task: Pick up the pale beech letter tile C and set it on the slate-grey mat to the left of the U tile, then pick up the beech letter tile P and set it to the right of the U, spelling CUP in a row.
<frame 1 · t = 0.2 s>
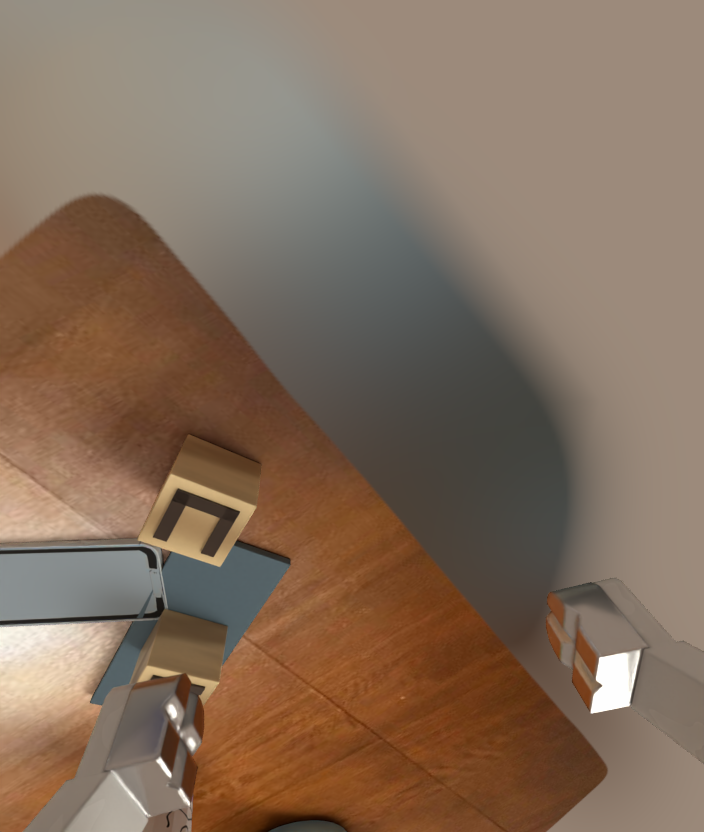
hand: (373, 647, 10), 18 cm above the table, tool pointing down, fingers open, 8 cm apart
tile C: (210, 478, 28), on the table
mat: (186, 631, 34), on the table
tile U: (184, 638, 34), point 1 cm above the table, touching mat
smartphone: (58, 576, 31), on the table
cup: (170, 770, 42), on the table
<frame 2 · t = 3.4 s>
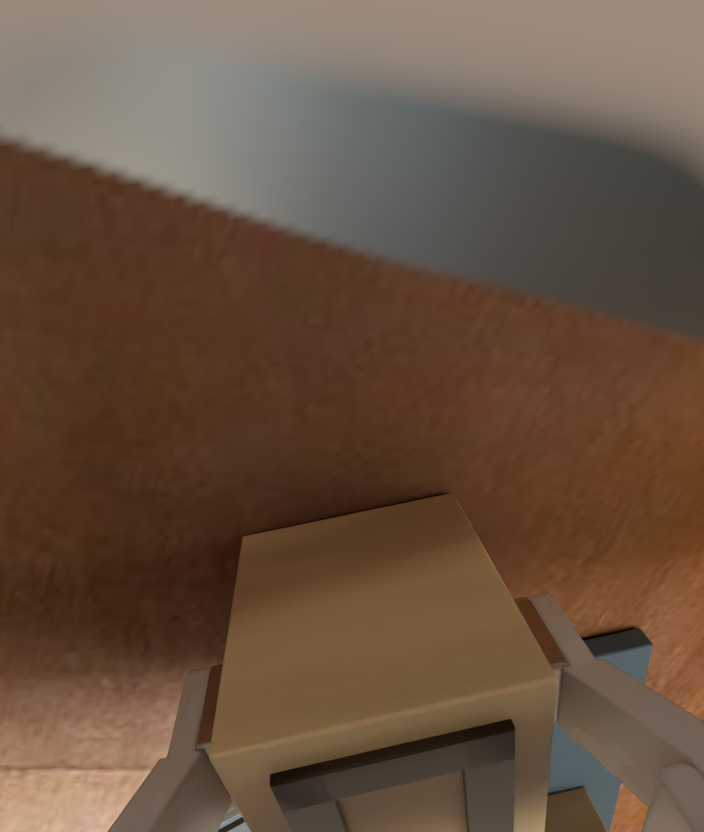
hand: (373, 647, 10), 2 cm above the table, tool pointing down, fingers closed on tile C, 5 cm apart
tile C: (364, 589, 11), on the table, touching gripper
mat: (511, 812, 17), on the table
tile U: (518, 831, 17), point 1 cm above the table, touching mat
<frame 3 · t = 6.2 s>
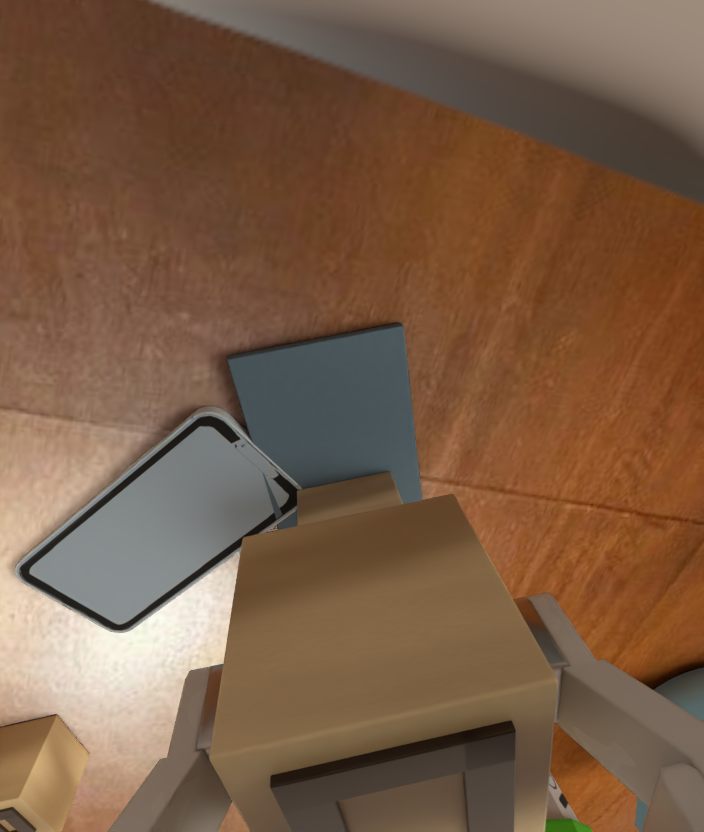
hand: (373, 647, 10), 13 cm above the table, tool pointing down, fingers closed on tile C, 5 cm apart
tile C: (364, 590, 11), point 11 cm above the table, touching gripper
mat: (350, 510, 24), on the table
tile P: (37, 743, 29), on the table
teapot: (688, 703, 39), on the table
tile U: (351, 517, 24), point 1 cm above the table, touching mat
smartphone: (164, 522, 24), on the table
cup: (466, 686, 33), on the table
when the fingers open (2 cm above the table, at t = 9.1 s): tile C stays where it is, resting on mat.
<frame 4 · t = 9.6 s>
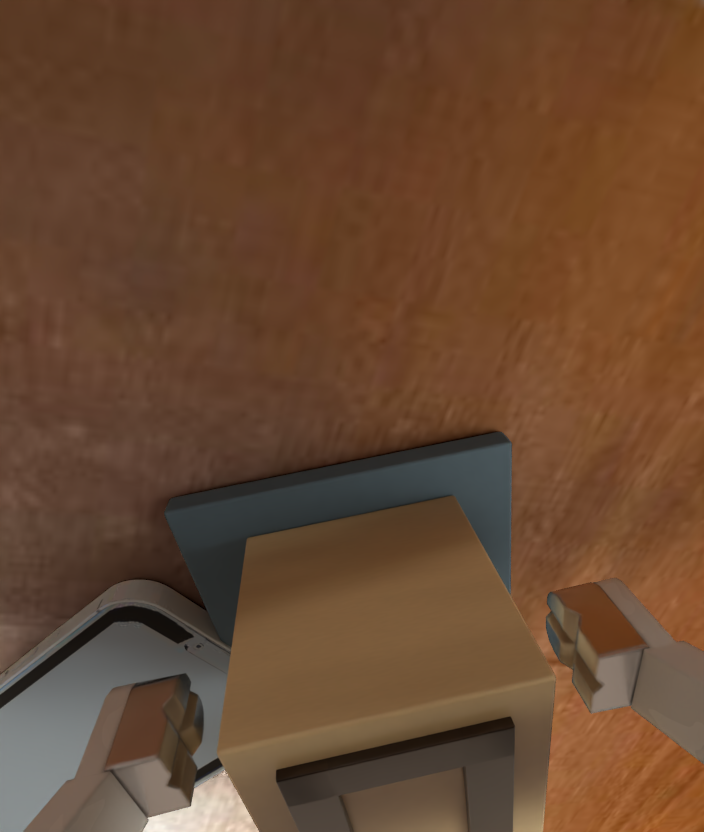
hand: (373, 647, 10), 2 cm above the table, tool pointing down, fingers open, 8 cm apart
tile C: (366, 589, 11), point 1 cm above the table, touching mat
mat: (388, 709, 15), on the table
smartphone: (79, 735, 14), on the table
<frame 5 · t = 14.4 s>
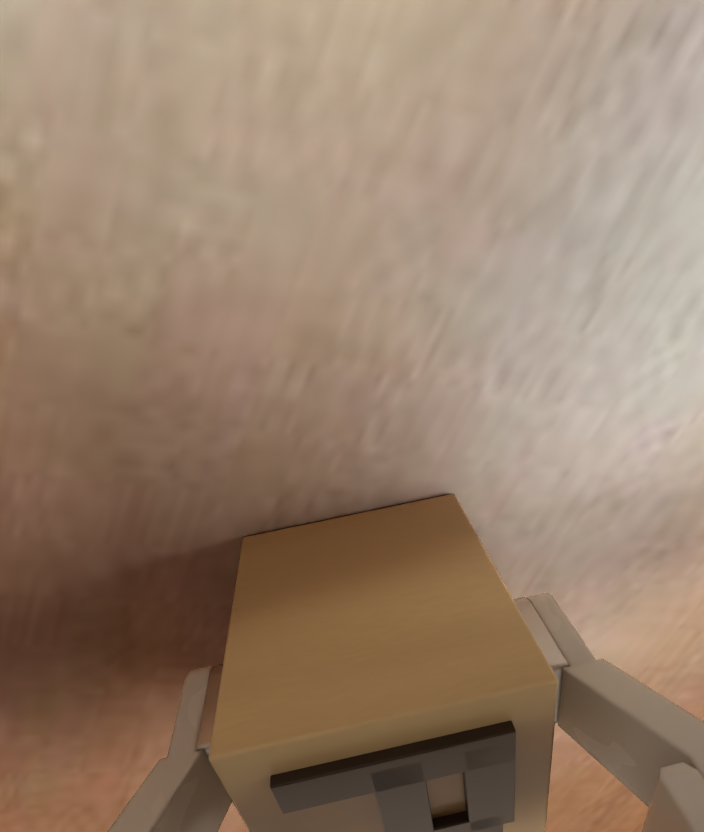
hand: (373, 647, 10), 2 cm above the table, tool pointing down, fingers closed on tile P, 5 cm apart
tile P: (364, 590, 11), on the table, touching gripper
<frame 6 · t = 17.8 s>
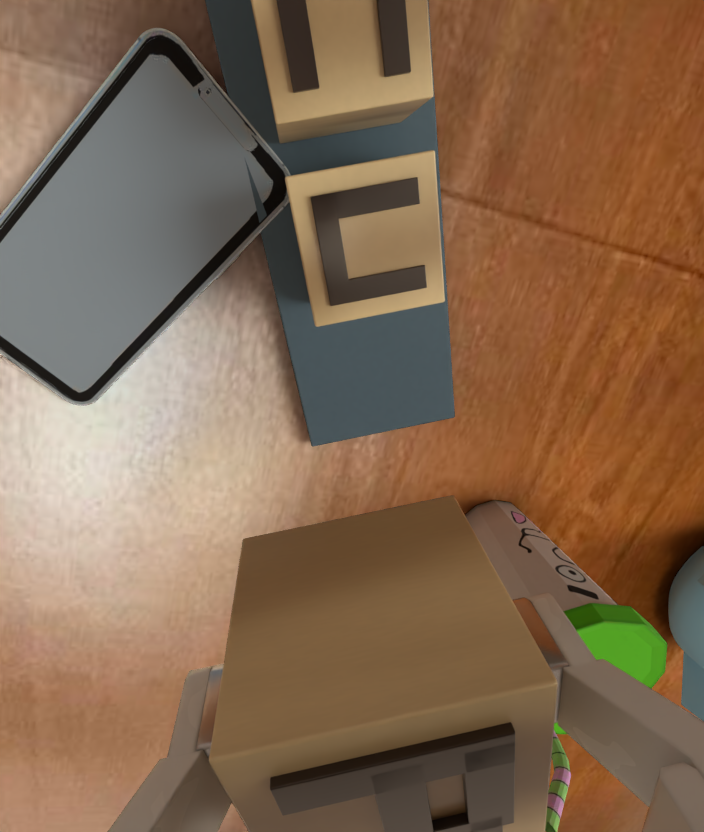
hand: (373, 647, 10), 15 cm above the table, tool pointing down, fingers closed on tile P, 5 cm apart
tile C: (329, 55, 16), point 1 cm above the table, touching mat
mat: (353, 236, 20), on the table
tile P: (364, 591, 11), point 13 cm above the table, touching gripper
tile U: (354, 236, 19), point 1 cm above the table, touching mat
smartphone: (123, 244, 19), on the table
cup: (488, 526, 29), on the table
when the fingers open (2 cm above the table, at t = 21.3 s): tile P stays where it is, resting on mat.
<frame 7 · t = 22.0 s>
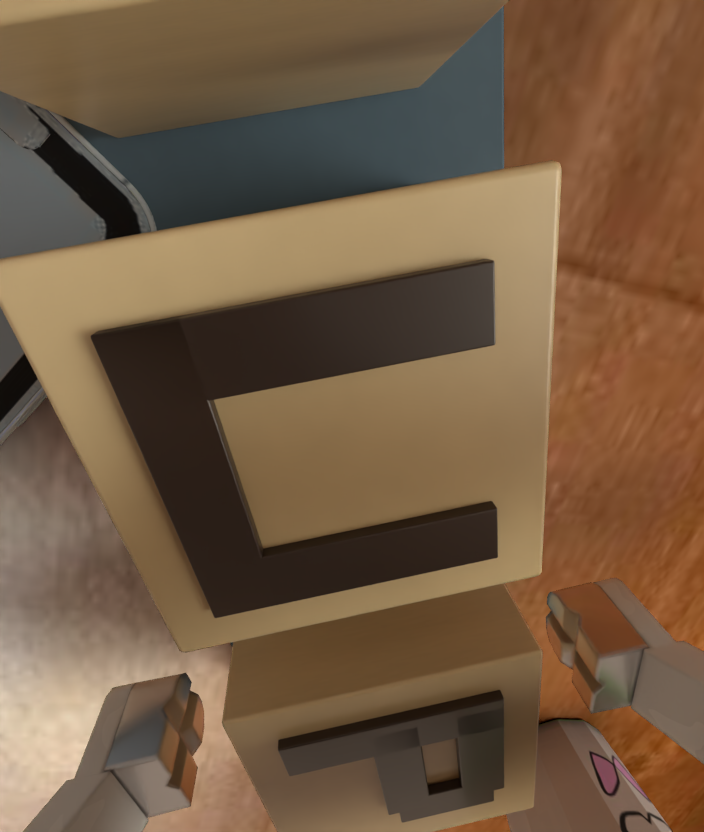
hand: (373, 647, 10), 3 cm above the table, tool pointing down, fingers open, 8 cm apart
mat: (312, 336, 9), on the table
tile P: (364, 578, 12), point 1 cm above the table, touching mat
tile U: (313, 344, 9), point 1 cm above the table, touching mat
cup: (543, 746, 18), on the table
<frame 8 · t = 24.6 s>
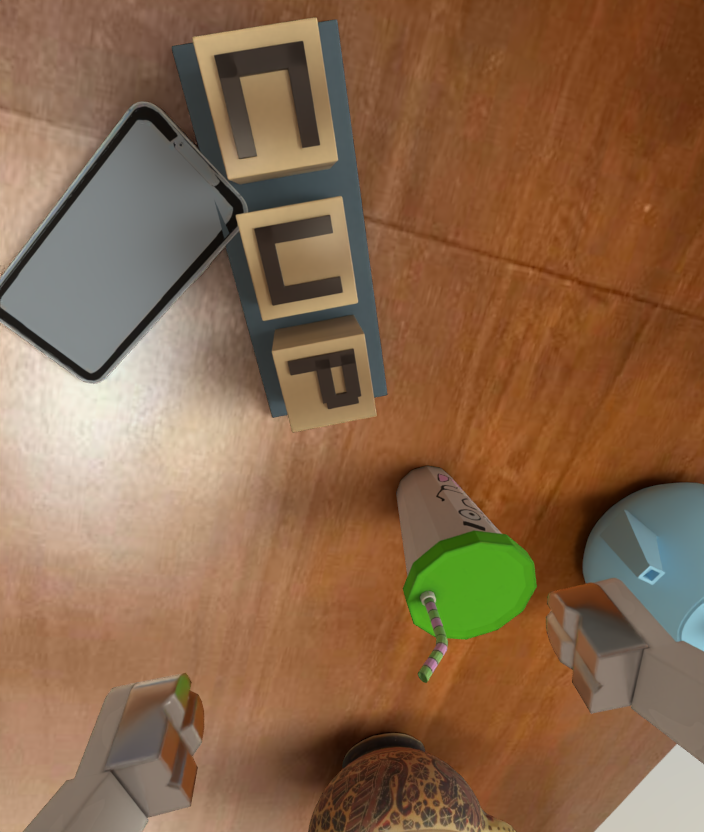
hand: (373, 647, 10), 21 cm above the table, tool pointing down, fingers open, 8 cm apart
tile C: (274, 121, 22), point 1 cm above the table, touching mat
mat: (299, 251, 26), on the table
tile P: (321, 359, 28), point 1 cm above the table, touching mat
teapot: (645, 532, 40), on the table
ceramic bowl: (382, 752, 50), on the table
tile U: (299, 252, 25), point 1 cm above the table, touching mat
smartphone: (122, 257, 25), on the table
cup: (423, 488, 34), on the table
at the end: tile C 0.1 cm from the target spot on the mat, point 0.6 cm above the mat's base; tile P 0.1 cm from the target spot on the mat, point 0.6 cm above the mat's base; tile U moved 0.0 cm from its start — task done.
